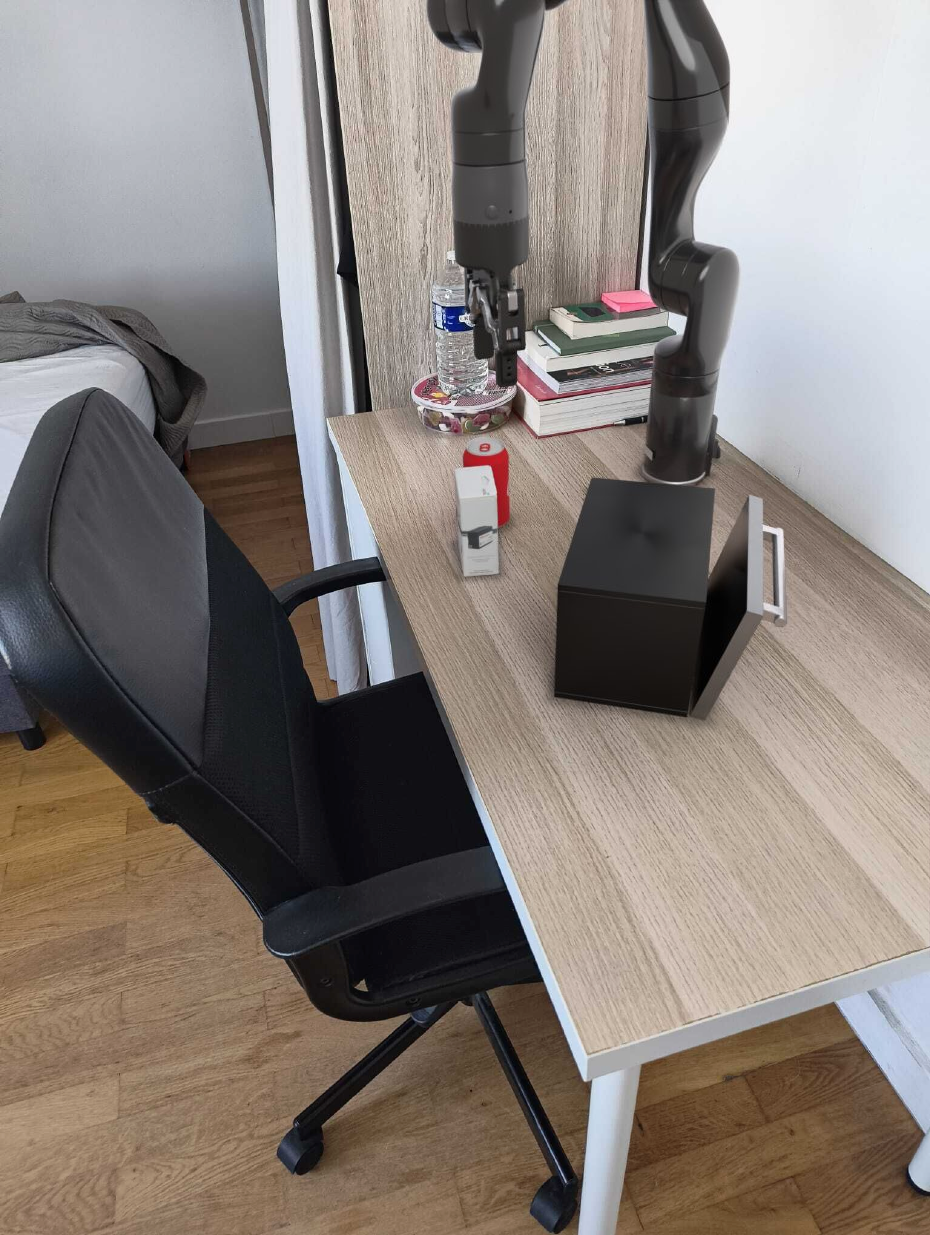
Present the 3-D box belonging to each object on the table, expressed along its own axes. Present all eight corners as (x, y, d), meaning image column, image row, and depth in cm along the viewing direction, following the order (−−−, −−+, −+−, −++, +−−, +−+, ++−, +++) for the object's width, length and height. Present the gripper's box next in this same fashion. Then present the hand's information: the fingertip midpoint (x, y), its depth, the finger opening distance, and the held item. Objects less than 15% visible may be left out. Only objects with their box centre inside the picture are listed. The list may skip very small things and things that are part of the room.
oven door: (738, 605, 103) (790, 506, 94) (734, 730, 87) (796, 626, 77) (701, 593, 104) (749, 494, 94) (690, 715, 87) (746, 610, 78)
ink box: (457, 543, 116) (452, 466, 109) (492, 540, 116) (490, 463, 109) (462, 578, 109) (458, 498, 102) (499, 575, 109) (498, 495, 102)
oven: (698, 595, 104) (715, 488, 95) (686, 717, 87) (706, 602, 78) (585, 581, 107) (591, 477, 98) (553, 697, 91) (557, 584, 81)
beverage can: (510, 511, 122) (510, 434, 115) (508, 533, 117) (507, 455, 110) (468, 510, 123) (464, 434, 115) (463, 533, 118) (459, 455, 110)
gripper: (551, 223, 78) (549, 390, 88) (505, 193, 89) (508, 344, 99) (473, 232, 76) (480, 401, 86) (436, 200, 87) (446, 354, 97)
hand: (495, 371), depth 92 cm, fingers open, 8 cm apart
